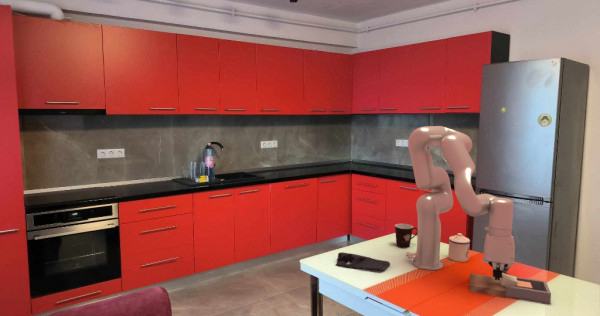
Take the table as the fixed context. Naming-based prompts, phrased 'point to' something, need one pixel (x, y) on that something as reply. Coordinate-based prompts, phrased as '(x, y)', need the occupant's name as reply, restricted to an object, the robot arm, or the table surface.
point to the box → (530, 291)
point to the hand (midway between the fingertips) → (497, 278)
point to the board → (486, 285)
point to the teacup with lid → (459, 248)
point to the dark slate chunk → (361, 262)
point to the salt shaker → (503, 269)
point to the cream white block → (508, 280)
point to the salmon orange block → (524, 285)
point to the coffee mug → (404, 235)
